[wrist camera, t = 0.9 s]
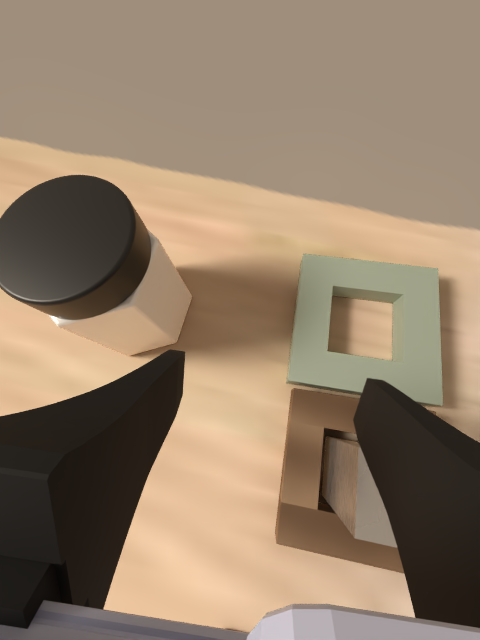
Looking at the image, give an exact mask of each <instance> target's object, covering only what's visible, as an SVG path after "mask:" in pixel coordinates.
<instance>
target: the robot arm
mask: <svg viewBox="0 0 480 640" xmlns="http://www.w3.org/2000/svg"><path fill="white" fill-rule="evenodd" d="M184 363H185V352H183V351H176V350H168V351H166V352H165V353H163V354H161V355H160V356H158V357H157V358H155V359H153V360H152V361H150V362H148V363H147V364H145V365H143V366H141V367H140V368H138V369H136V370H134V371H132V372H131V373H129V374H127V375H125V376H123V377H121V378H119V379H117V380H115V381H113V382H111V383H109V384H107V385H104V386H102V387H100V388H97V389H95V390H92V391H90V392H87V393H84V394H82V395H79V396H76V397H73V398H70V399H67V400H63V401H60V402H57V403H54V404H51V405H47V406H43V407H40V408H36V409H32V410H28V411H24V412H19V413H15V414H10V415H5V416H0V640H480V443H479V442H477V441H475V440H474V439H472V438H470V437H469V436H467V435H465V434H464V433H462V432H460V431H459V430H457V429H456V428H454V427H453V426H451V425H450V424H448V423H446V422H445V421H443V420H442V419H440V418H439V417H437V416H436V415H434V414H433V413H431V412H430V411H429V410H427V409H426V408H424V407H423V406H421V405H420V404H418V403H417V402H416V401H414V400H413V399H411V398H410V397H408V396H407V395H406V394H404V393H403V392H401V391H400V390H398V389H397V388H395V387H394V386H392V385H391V384H389V383H387V382H386V381H384V380H379V379H372V378H367V379H366V382H365V385H364V388H363V391H362V394H361V397H360V400H359V403H358V406H357V409H356V412H355V415H354V418H353V422H354V426H355V430H356V434H357V438H358V442H359V445H360V447H361V450H362V453H363V455H364V457H365V460H366V462H367V465H368V467H369V470H370V472H371V475H372V477H373V479H374V482H375V484H376V487H377V489H378V491H379V494H380V496H381V499H382V501H383V504H384V507H385V509H386V512H387V515H388V518H389V521H390V524H391V528H392V531H393V534H394V538H395V541H396V544H397V548H398V551H399V555H400V559H401V562H402V566H403V570H404V573H405V577H406V581H407V585H408V589H409V593H410V597H411V601H412V605H413V609H414V613H415V617H416V618H412V617H406V616H400V615H393V614H387V613H381V612H374V611H368V610H362V609H355V608H349V607H342V606H336V605H330V604H292V605H289V606H286V607H283V608H280V609H277V610H274V611H271V612H268V613H266V615H265V616H264V617H263V618H262V619H261V620H260V622H259V623H258V624H257V625H256V626H255V628H254V629H253V630H252V631H251V633H246V632H240V631H234V630H228V629H221V628H215V627H209V626H202V625H196V624H190V623H184V622H177V621H171V620H165V619H159V618H152V617H146V616H140V615H134V614H127V613H121V612H115V611H109V610H103V608H104V605H105V601H106V598H107V595H108V592H109V589H110V585H111V582H112V579H113V576H114V573H115V570H116V567H117V564H118V561H119V558H120V555H121V552H122V549H123V545H124V542H125V539H126V536H127V534H128V531H129V528H130V525H131V522H132V519H133V516H134V513H135V510H136V507H137V505H138V502H139V499H140V496H141V493H142V491H143V488H144V485H145V482H146V480H147V477H148V475H149V472H150V470H151V468H152V465H153V463H154V461H155V459H156V457H157V455H158V453H159V451H160V449H161V446H162V444H163V442H164V440H165V438H166V436H167V434H168V432H169V430H170V427H171V425H172V423H173V421H174V419H175V417H176V414H177V411H178V408H179V405H180V401H181V398H182V395H183V379H184Z"/></svg>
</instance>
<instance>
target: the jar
mask: <svg viewBox="0 0 480 640" xmlns="http://www.w3.org/2000/svg"><path fill="white" fill-rule="evenodd" d="M0 288H1V289H2V290H3V291H4V292H6V293H7V294H8V295H9V296H11V297H12V298H14V299H16V300H18V301H20V302H22V303H25V304H27V305H29V306H31V307H33V308H35V309H37V310H40V311H42V312H44V313H46V314H48V316H49V317H50V318H51V319H52V321H53V322H54V323H55V324H56V325H57V326H58V327H60V328H62V329H65V330H67V331H69V332H72V333H74V334H76V335H79V336H81V337H84V338H86V339H88V340H91V341H93V342H95V343H98V344H100V345H102V346H105V347H107V348H109V349H112V350H114V351H116V352H119V353H121V354H123V355H126V356H131V355H134V354H138V353H141V352H145V351H149V350H152V349H156V348H159V347H163V346H167V345H170V344H174V343H176V342H177V341H178V338H179V335H180V332H181V329H182V326H183V323H184V320H185V317H186V314H187V311H188V308H189V305H190V302H191V299H192V295H191V293H190V292H189V290H188V288H187V287H186V285H185V283H184V282H183V280H182V278H181V276H180V275H179V273H178V271H177V270H176V268H175V266H174V265H173V263H172V261H171V260H170V258H169V256H168V255H167V253H166V251H165V249H164V248H163V246H162V244H161V243H160V241H159V240H158V239H157V238H156V237H155V236H154V235H153V234H152V233H151V232H150V231H149V230H148V229H147V228H146V226H145V225H144V223H143V221H142V220H141V218H140V217H139V215H138V213H137V212H136V210H135V209H134V207H133V205H132V204H131V202H130V201H129V199H128V198H127V196H126V195H125V194H124V193H123V192H122V191H121V190H120V189H119V188H118V187H117V186H115V185H114V184H112V183H110V182H108V181H106V180H104V179H101V178H97V177H94V176H88V175H69V176H63V177H59V178H55V179H52V180H49V181H46V182H44V183H41V184H39V185H37V186H35V187H34V188H32V189H30V190H29V191H27V192H26V193H24V194H23V195H22V196H20V197H19V198H18V199H17V200H16V201H14V202H13V203H12V204H11V205H10V207H9V208H8V209H7V210H6V211H5V212H4V214H3V215H2V217H1V218H0Z"/></svg>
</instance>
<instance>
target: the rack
mask: <svg viewBox="0 0 480 640" xmlns="http://www.w3.org/2000/svg"><path fill="white" fill-rule="evenodd" d="M332 296H339V297H347V298H355V299H363V300H371V301H379V302H387V303H393V333H392V361H390V360H383V359H376V358H370V357H363V356H356V355H349V354H343V353H336V352H329V351H327V350H328V338H329V326H330V314H331V301H332ZM367 378H372V379H379V380H384V381H386V382H387V383H389V384H391V385H392V386H394V387H395V388H397V389H398V390H400V391H401V392H403V393H404V394H406V395H407V396H408V397H410V398H411V399H413V400H414V401H416V402H417V403H418V404H420V405H422V406H443V389H442V362H441V334H440V306H439V278H438V268H429V267H420V266H411V265H402V264H393V263H384V262H375V261H366V260H357V259H347V258H338V257H329V256H320V255H311V254H303V257H302V261H301V265H300V273H299V281H298V289H297V298H296V306H295V314H294V322H293V331H292V339H291V347H290V355H289V364H288V372H287V380H286V383H289V384H295V385H301V386H307V387H313V388H319V389H325V390H331V391H337V392H343V393H349V394H355V395H361V394H362V391H363V388H364V385H365V382H366V379H367Z"/></svg>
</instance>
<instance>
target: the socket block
mask: <svg viewBox="0 0 480 640" xmlns="http://www.w3.org/2000/svg"><path fill="white" fill-rule="evenodd" d="M359 400H360V399H356V398H350V397H344V396H338V395H332V394H326V393H320V392H314V391H308V390H302V389H296V388H294V389H292V390H291V399H290V408H289V416H288V425H287V434H286V442H285V451H284V460H283V468H282V477H281V486H280V494H279V503H278V512H277V521H276V529H275V534H276V543H277V544H280V545H284V546H288V547H293V548H297V549H301V550H306V551H310V552H314V553H319V554H323V555H327V556H331V557H336V558H340V559H344V560H349V561H353V562H357V563H362V564H366V565H370V566H374V567H379V568H383V569H387V570H392V571H396V572H400V573H404V570H403V566H402V562H401V559H400V555H399V551H398V548H396V547H391V546H387V545H382V544H378V543H373V542H369V541H364V540H360V539H355V538H354V537H353V535H352V534H351V533H350V531H349V530H348V529H347V527H346V526H345V525H344V523H343V522H342V521H341V519H340V518H339V517H338V515H337V514H336V513H335V511H334V510H333V509H332V507H331V506H330V505H328V504H323V503H318V496H319V483H320V471H321V458H322V446H323V433H324V428H329V429H334V430H340V431H345V432H351V433H356V430H355V426H354V422H353V418H354V415H355V412H356V409H357V406H358V403H359ZM430 412H431V413H433V414H434V415H436V412H434V411H430Z"/></svg>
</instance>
